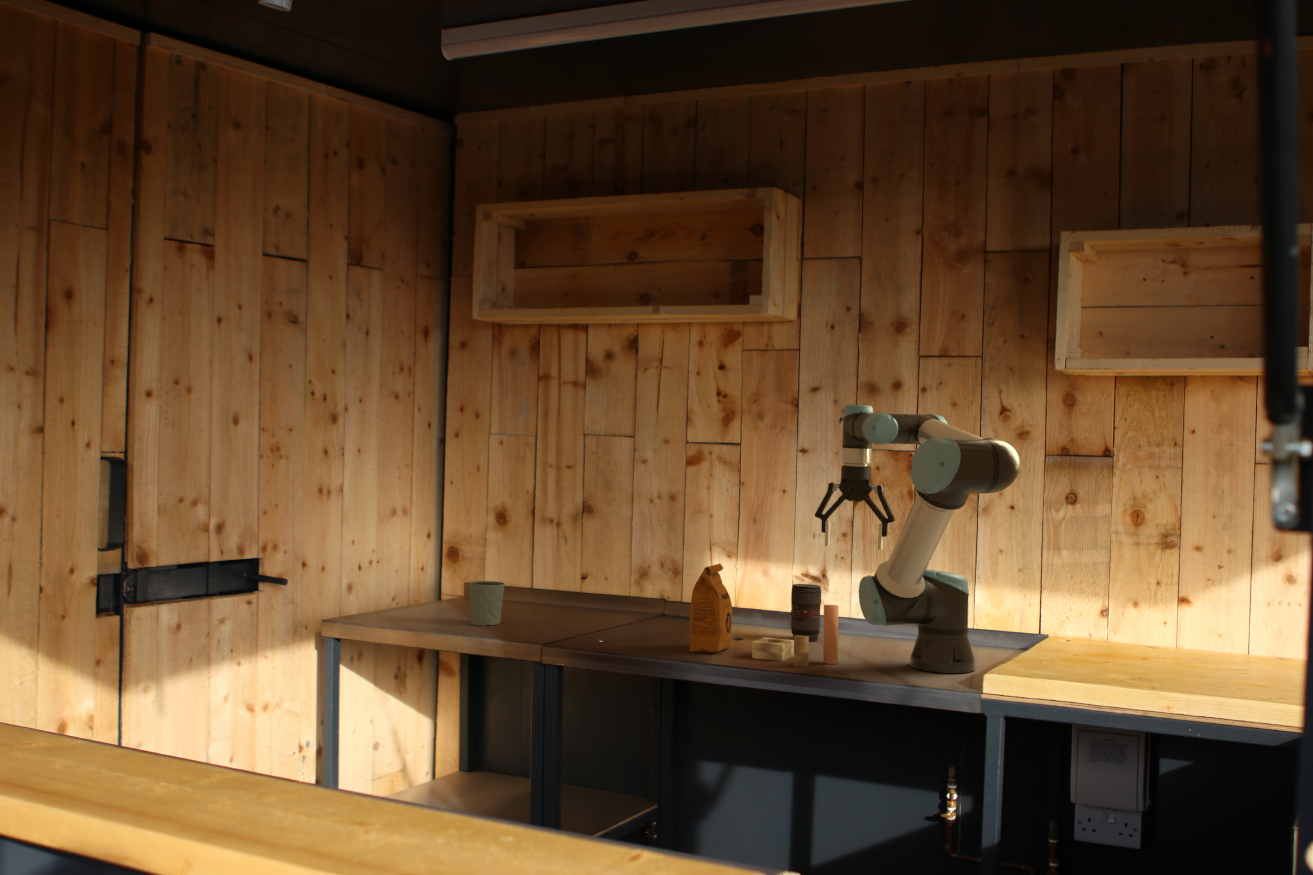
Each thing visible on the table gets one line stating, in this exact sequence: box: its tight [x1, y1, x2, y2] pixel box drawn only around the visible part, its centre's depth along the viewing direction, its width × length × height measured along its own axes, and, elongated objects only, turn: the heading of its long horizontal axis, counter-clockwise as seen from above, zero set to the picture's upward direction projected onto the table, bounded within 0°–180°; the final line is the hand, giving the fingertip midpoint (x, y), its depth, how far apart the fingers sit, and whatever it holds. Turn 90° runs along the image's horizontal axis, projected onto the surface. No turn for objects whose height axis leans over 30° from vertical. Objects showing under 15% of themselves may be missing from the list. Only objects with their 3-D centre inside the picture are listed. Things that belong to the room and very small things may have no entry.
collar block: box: [751, 637, 794, 662], centre depth 278 cm, size 8×8×4 cm
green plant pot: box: [468, 580, 505, 626], centre depth 324 cm, size 10×10×12 cm
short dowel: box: [793, 635, 810, 668], centre depth 268 cm, size 4×4×7 cm
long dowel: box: [822, 604, 839, 665], centre depth 271 cm, size 4×4×14 cm
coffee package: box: [689, 563, 733, 654], centre depth 286 cm, size 10×12×22 cm
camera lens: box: [790, 583, 822, 643], centre depth 305 cm, size 8×8×15 cm
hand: (853, 547), depth 286 cm, fingers open, 13 cm apart
